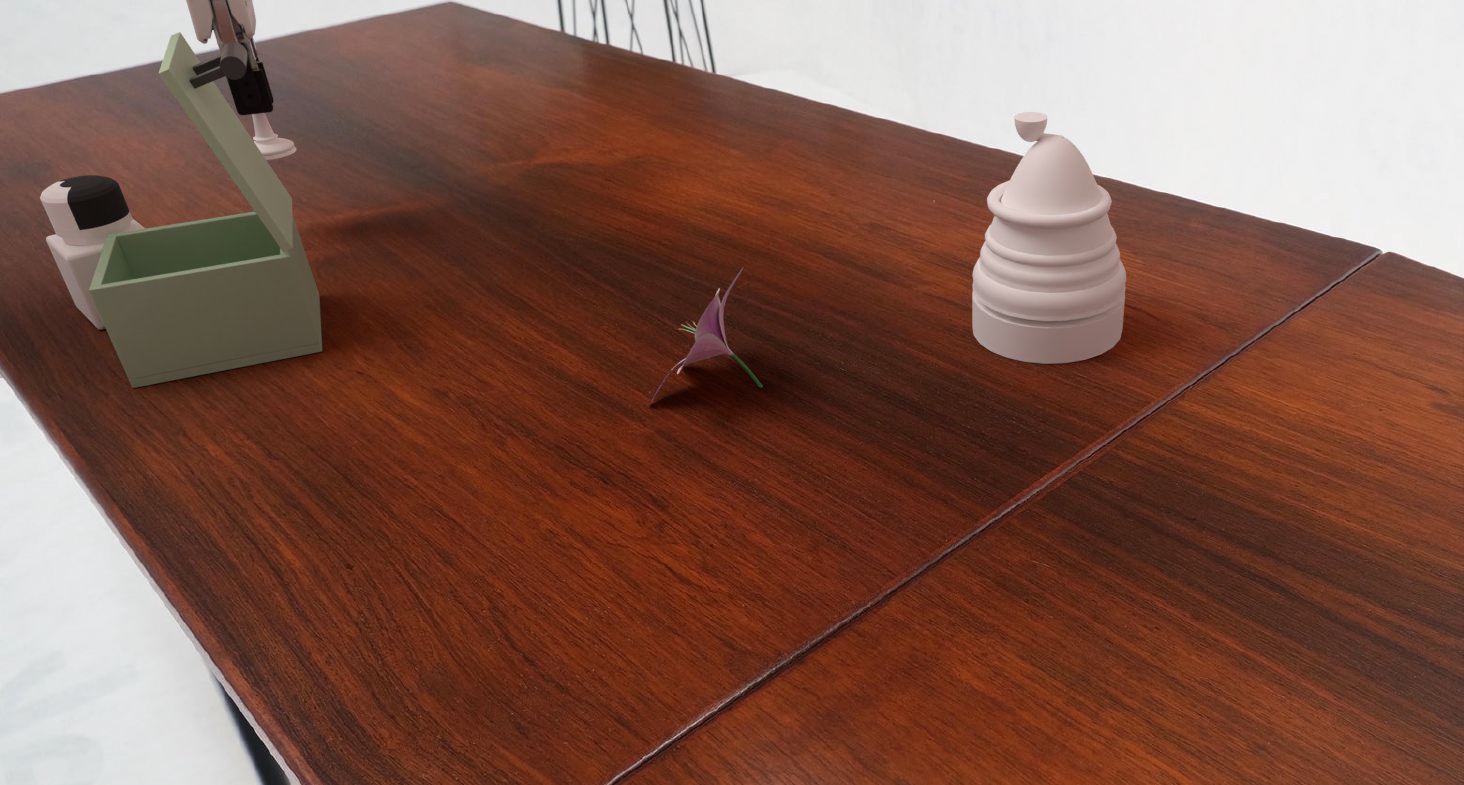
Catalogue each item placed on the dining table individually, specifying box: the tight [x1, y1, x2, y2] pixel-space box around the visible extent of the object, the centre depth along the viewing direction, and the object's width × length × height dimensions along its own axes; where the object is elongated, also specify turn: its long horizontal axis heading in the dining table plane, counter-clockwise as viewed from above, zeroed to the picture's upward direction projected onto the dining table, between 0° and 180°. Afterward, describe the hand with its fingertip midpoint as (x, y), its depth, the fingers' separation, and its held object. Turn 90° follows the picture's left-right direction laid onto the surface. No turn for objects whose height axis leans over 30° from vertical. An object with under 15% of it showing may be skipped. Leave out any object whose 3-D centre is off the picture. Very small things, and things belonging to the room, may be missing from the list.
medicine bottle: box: [39, 174, 146, 331], centre depth 109 cm, size 7×7×12 cm
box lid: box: [158, 31, 293, 252], centre depth 99 cm, size 16×13×5 cm
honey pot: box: [971, 111, 1127, 365], centre depth 98 cm, size 13×13×18 cm
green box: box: [89, 211, 323, 389], centre depth 104 cm, size 15×13×9 cm
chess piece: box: [251, 113, 298, 161], centre depth 119 cm, size 5×5×10 cm
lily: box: [648, 266, 764, 407], centre depth 95 cm, size 12×12×10 cm
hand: (256, 107), depth 119 cm, fingers closed on chess piece
